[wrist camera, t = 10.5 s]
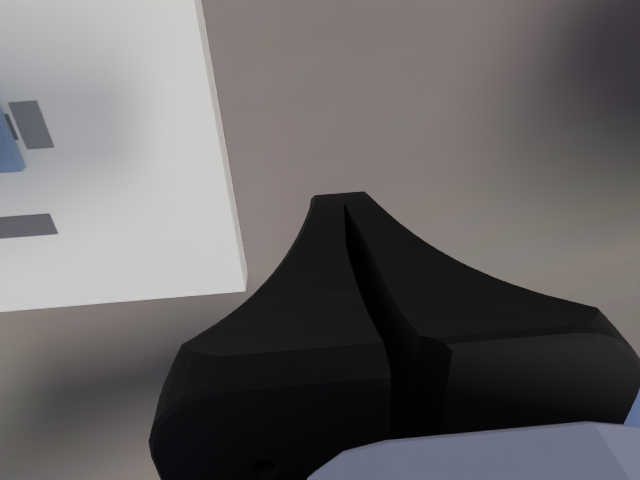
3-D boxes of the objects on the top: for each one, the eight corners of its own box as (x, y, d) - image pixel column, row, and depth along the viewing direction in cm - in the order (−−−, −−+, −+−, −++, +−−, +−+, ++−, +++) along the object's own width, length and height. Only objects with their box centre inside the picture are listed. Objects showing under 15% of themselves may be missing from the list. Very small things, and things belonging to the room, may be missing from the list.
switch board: (247, 272, 24) (245, 292, 23) (-75, 299, 24) (-96, 320, 22) (186, -86, 16) (177, -88, 14) (-308, -56, 15) (-363, -55, 14)
